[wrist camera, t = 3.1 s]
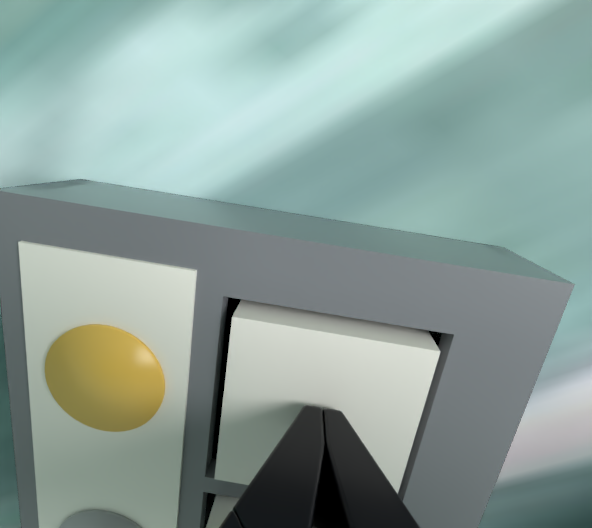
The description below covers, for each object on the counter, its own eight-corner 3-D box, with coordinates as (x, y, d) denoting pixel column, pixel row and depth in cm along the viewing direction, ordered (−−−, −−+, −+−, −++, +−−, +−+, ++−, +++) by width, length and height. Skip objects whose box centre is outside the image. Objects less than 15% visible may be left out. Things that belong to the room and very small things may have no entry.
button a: (412, 304, 10) (440, 351, 8) (377, 435, 11) (392, 510, 9) (252, 278, 10) (232, 316, 8) (236, 411, 12) (214, 479, 9)
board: (504, 247, 10) (581, 288, 7) (364, 674, 16) (374, 798, 13) (80, 179, 11) (-19, 190, 7) (89, 623, 16) (35, 734, 13)
